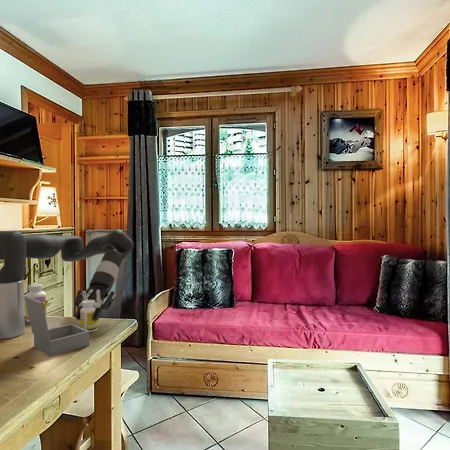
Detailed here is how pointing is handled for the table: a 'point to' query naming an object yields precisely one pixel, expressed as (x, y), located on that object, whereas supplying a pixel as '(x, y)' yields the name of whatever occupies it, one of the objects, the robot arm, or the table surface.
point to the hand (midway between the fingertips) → (85, 319)
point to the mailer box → (53, 332)
